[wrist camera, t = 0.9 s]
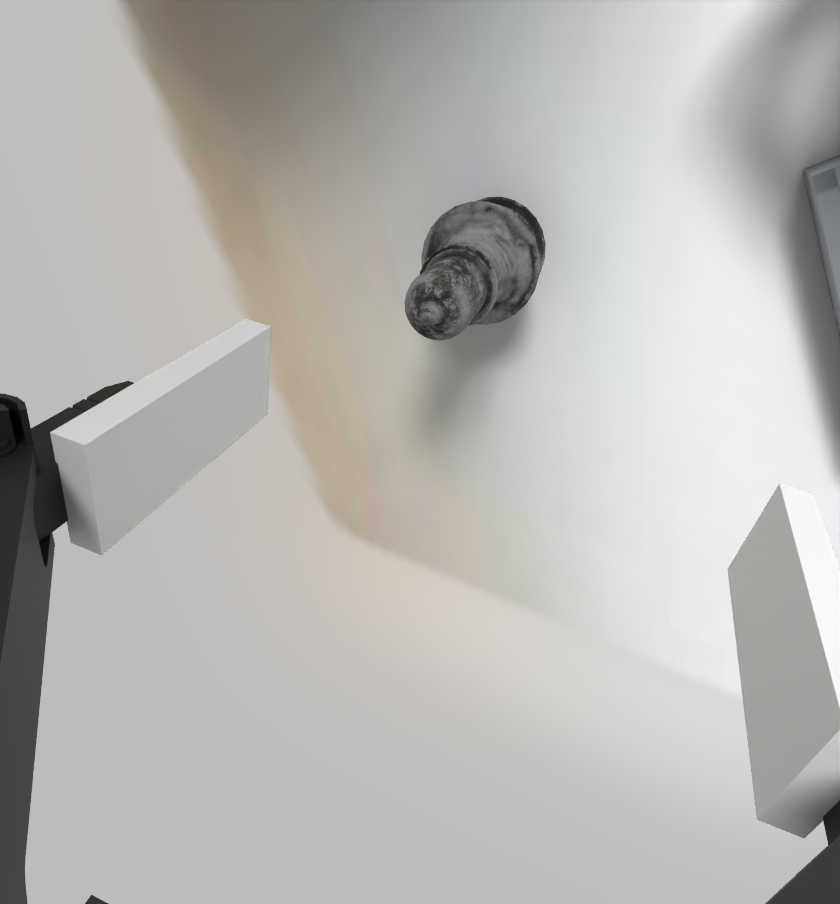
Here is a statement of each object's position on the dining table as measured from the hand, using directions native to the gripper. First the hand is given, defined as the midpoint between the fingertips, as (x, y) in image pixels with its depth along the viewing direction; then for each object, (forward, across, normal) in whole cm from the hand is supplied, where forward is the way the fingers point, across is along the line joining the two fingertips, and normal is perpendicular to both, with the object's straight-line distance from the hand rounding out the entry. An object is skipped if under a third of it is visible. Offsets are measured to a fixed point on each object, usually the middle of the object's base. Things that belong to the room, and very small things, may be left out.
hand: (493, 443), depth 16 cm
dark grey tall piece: (+20, -4, -1) cm, 21 cm away
